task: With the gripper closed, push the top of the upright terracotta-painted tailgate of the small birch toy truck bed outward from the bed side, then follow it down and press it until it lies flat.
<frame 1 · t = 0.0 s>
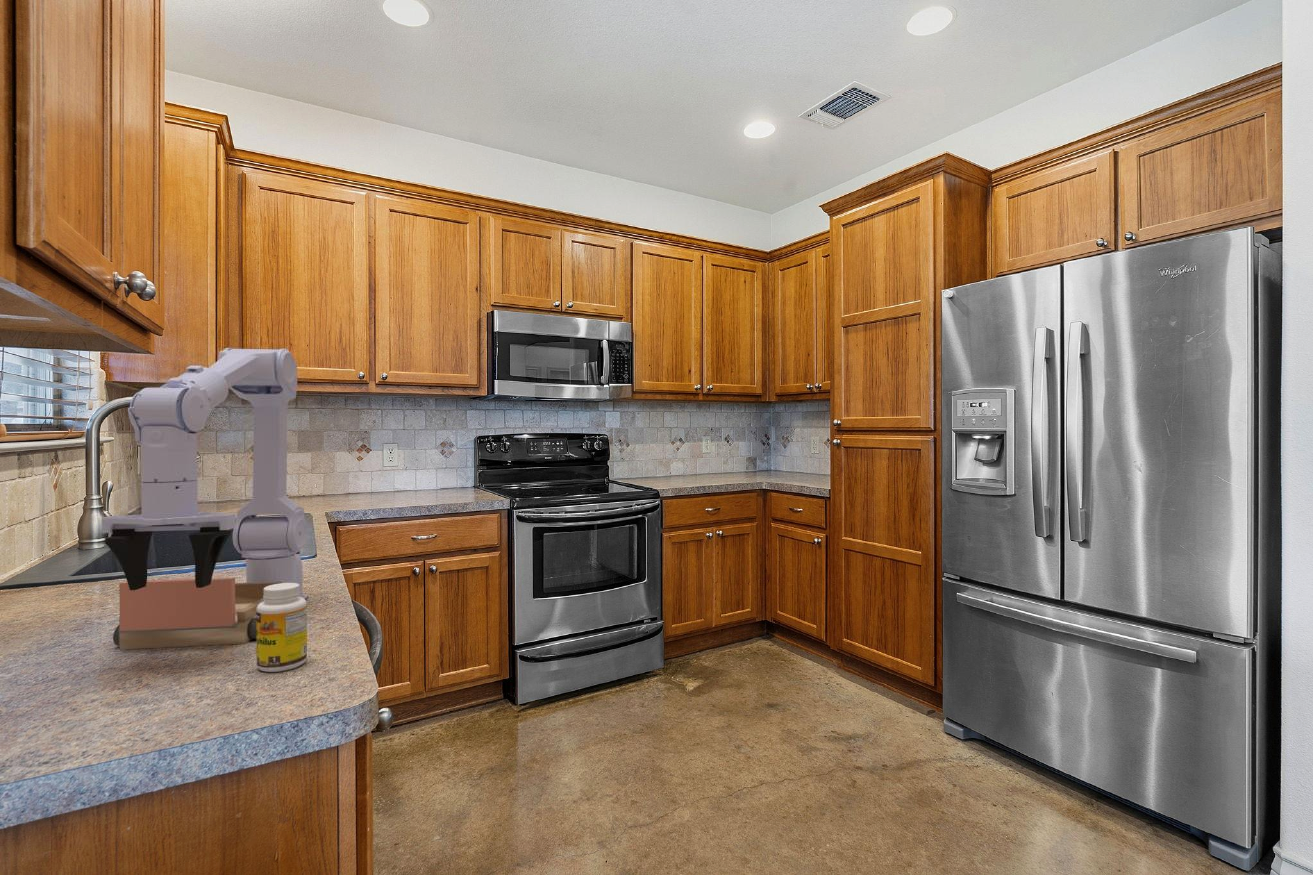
hand: (171, 587, 81), 10 cm above the countertop, fingers open, 7 cm apart
supplement bottle: (282, 667, 81), on the countertop
tailgate: (178, 605, 87), point 6 cm above the countertop, hinge at 0.0°
truck bed: (207, 633, 94), on the countertop
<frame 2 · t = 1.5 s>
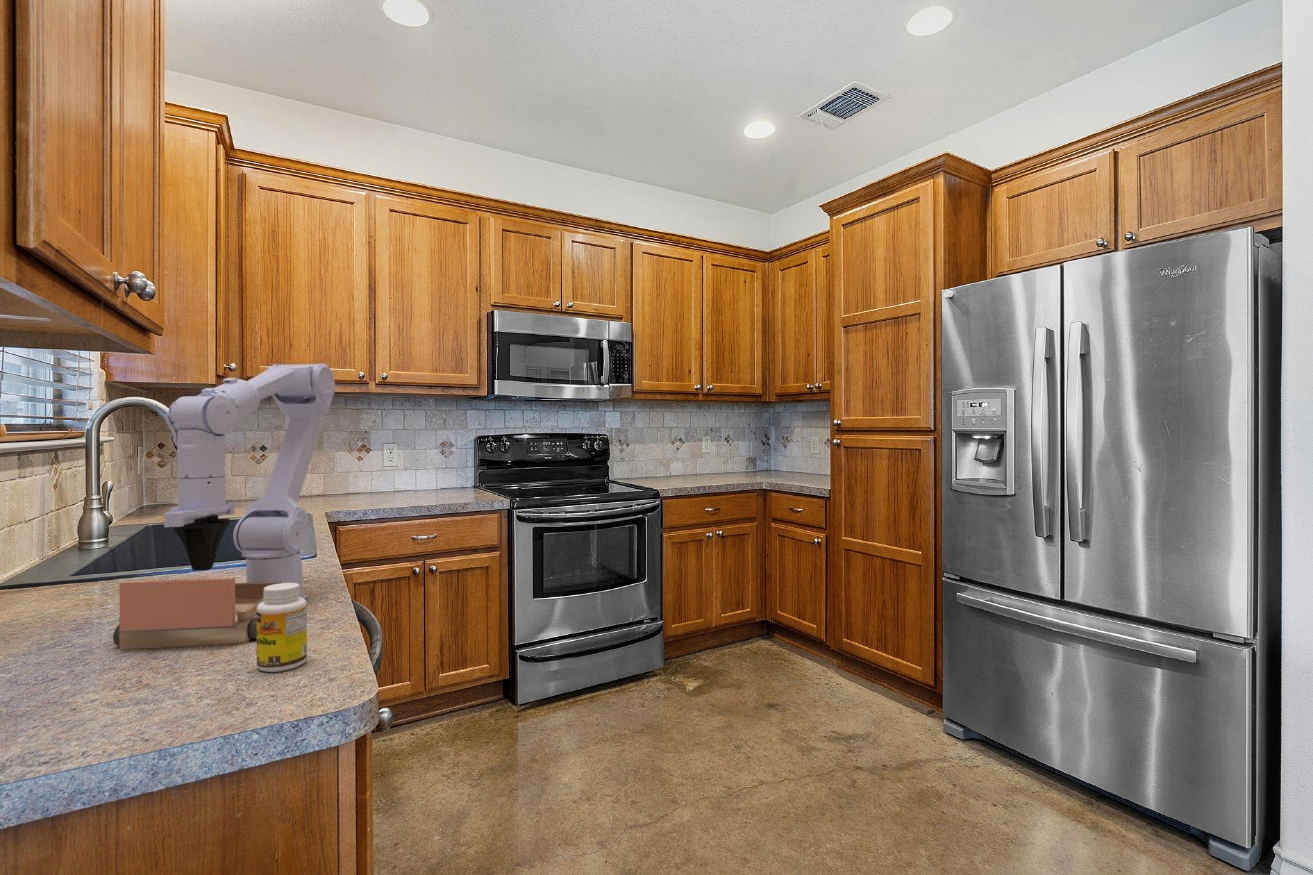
hand: (202, 569, 93), 10 cm above the countertop, fingers closed
nothing on the countertop moved.
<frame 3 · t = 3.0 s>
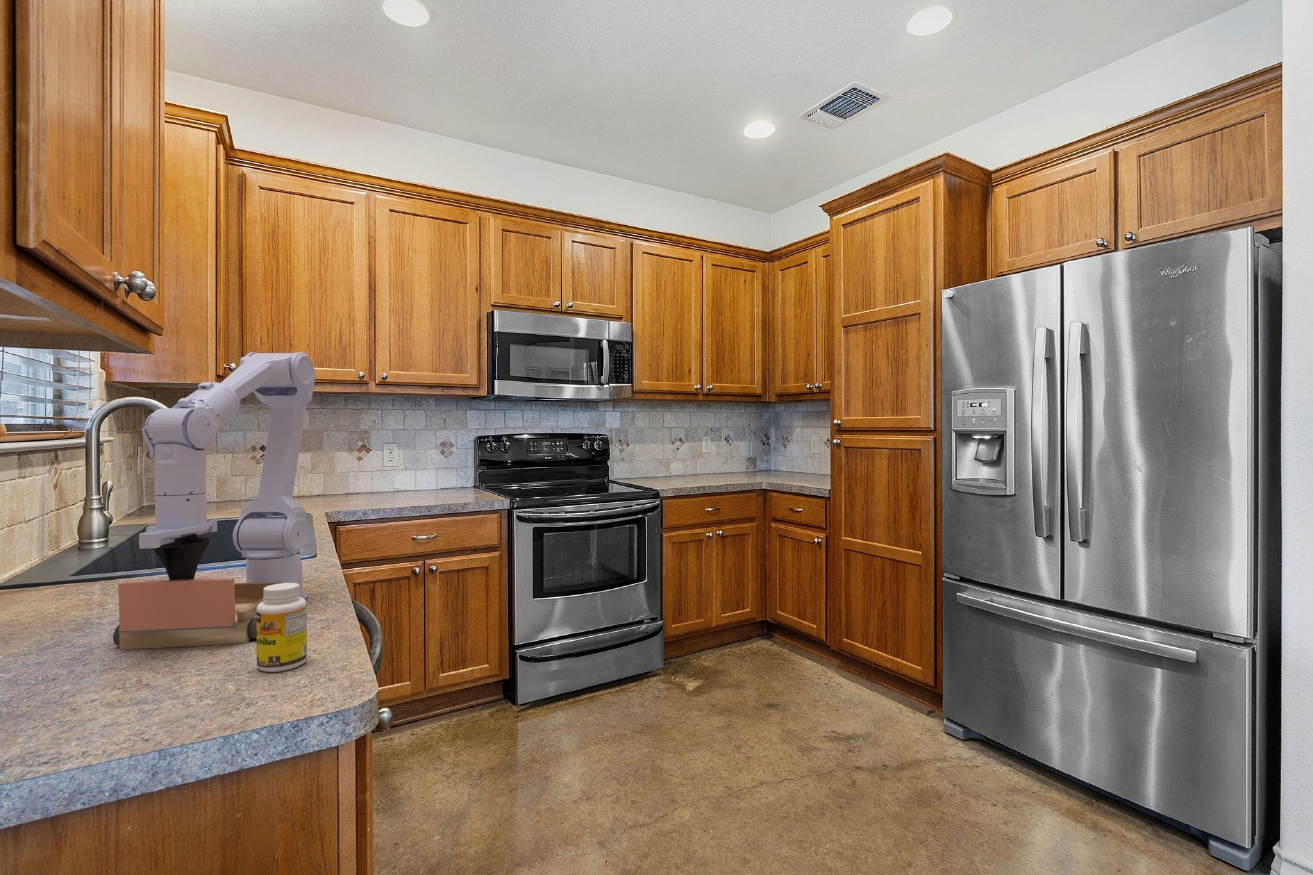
hand: (181, 591, 88), 8 cm above the countertop, fingers closed, pressing on tailgate
tailgate: (178, 605, 87), point 6 cm above the countertop, hinge at 1.8°, touching gripper
everything else where it was.
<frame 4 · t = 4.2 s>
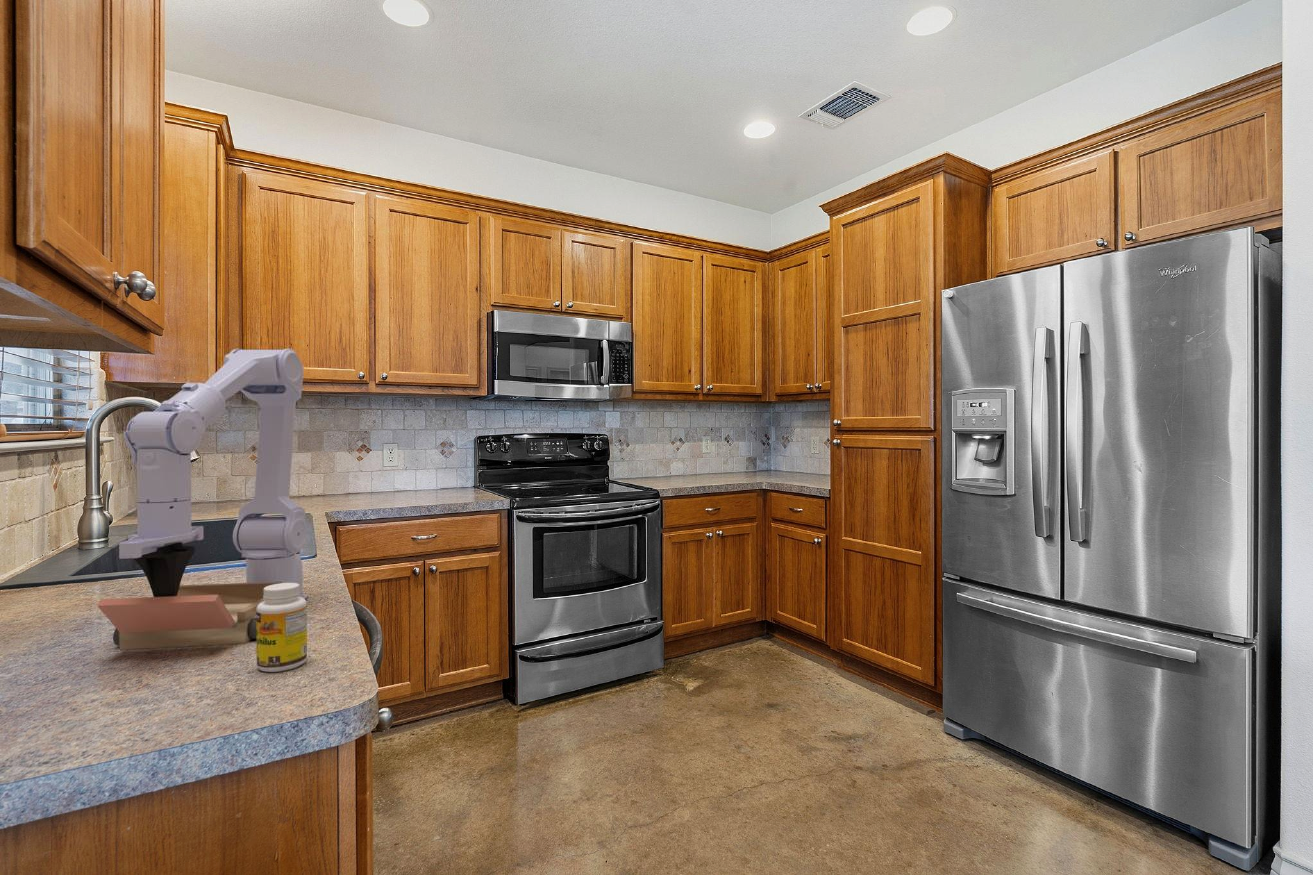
hand: (165, 602, 84), 7 cm above the countertop, fingers closed, pressing on tailgate
tailgate: (169, 614, 85), point 5 cm above the countertop, hinge at 41.3°, touching gripper
everything else where it was.
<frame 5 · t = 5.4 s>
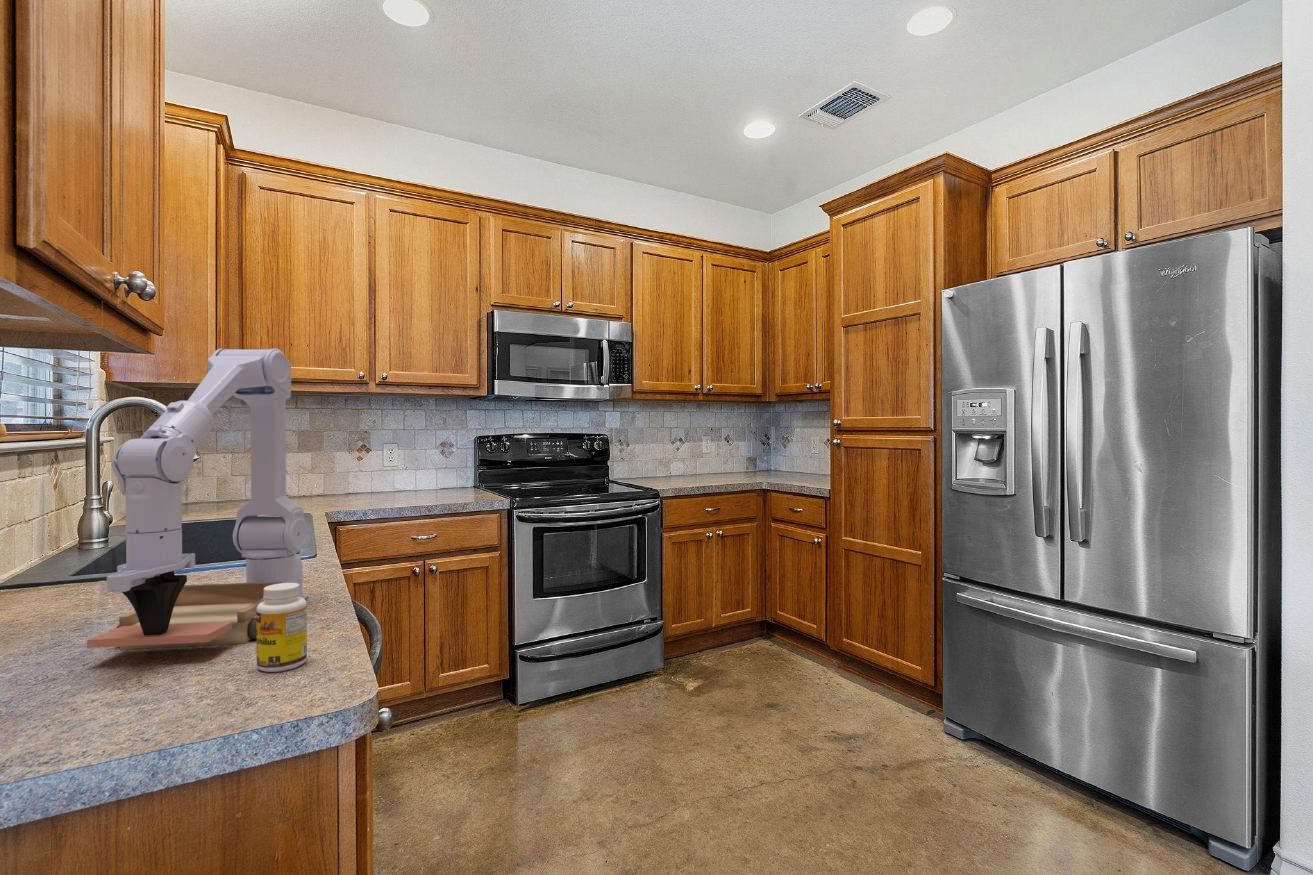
hand: (155, 634, 82), 4 cm above the countertop, fingers closed, pressing on tailgate
tailgate: (164, 633, 84), point 3 cm above the countertop, hinge at 88.2°, touching gripper
everything else where it was.
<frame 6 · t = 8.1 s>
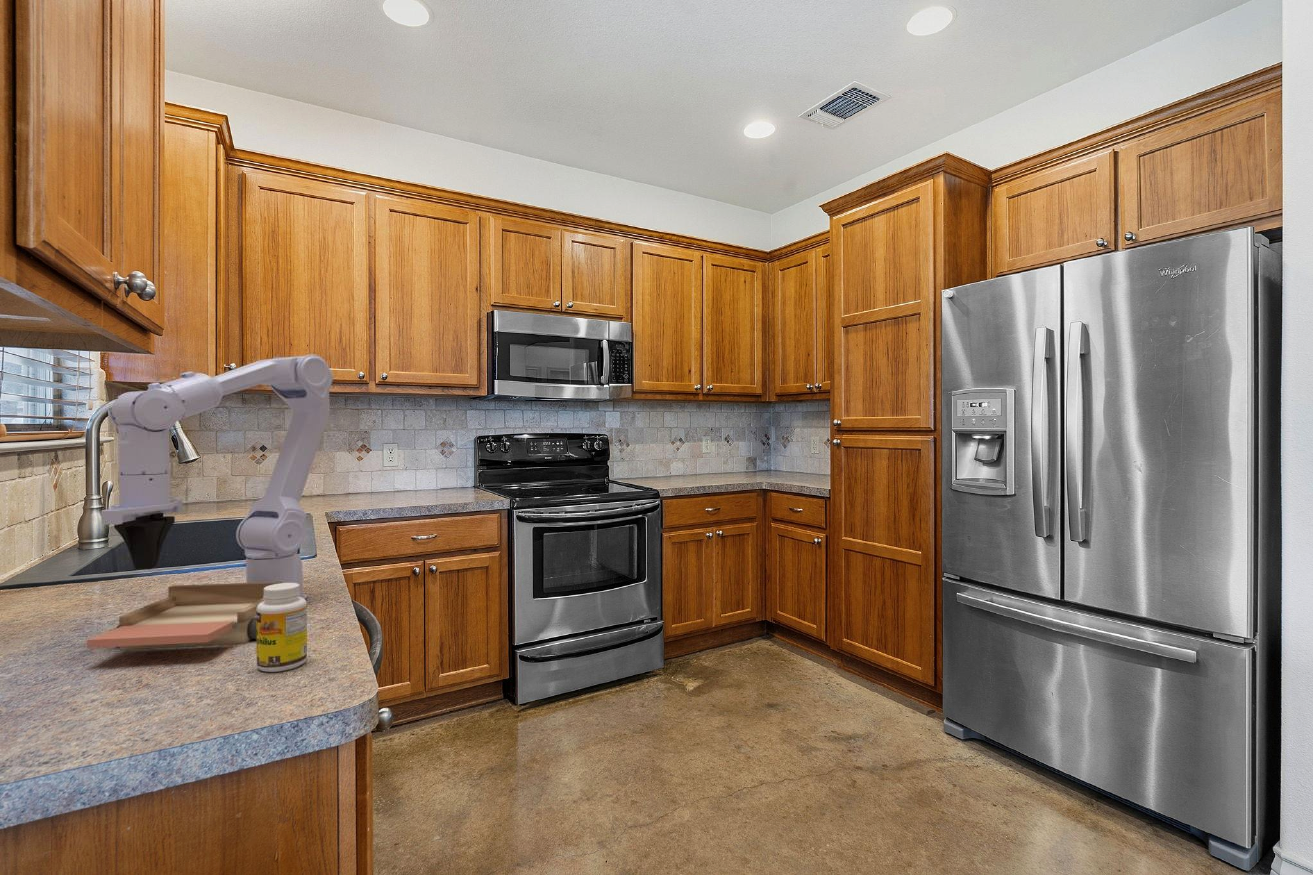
hand: (145, 568, 91), 10 cm above the countertop, fingers closed
tailgate: (164, 633, 84), point 3 cm above the countertop, hinge at 88.3°
everything else where it was.
at the end: tailgate at +88° (first picture: +0°); tailgate touching nothing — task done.
